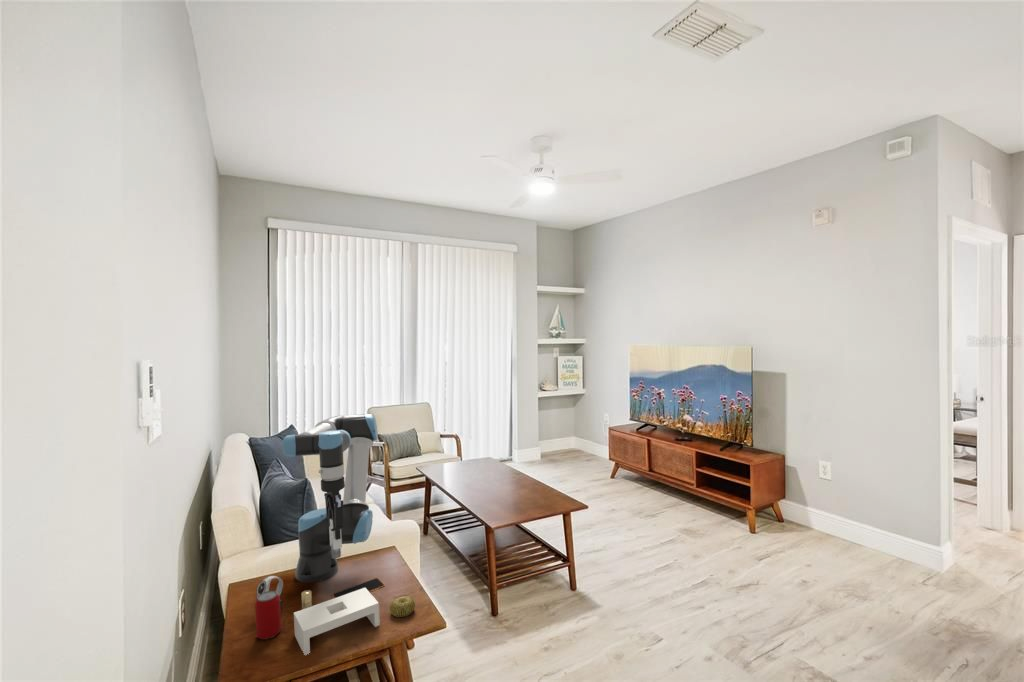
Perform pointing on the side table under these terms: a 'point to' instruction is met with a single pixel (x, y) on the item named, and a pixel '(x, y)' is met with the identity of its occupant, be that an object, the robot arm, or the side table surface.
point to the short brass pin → (306, 599)
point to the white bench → (334, 615)
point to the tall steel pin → (336, 552)
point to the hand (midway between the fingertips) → (335, 546)
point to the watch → (265, 585)
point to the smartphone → (368, 585)
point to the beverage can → (268, 615)
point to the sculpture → (402, 606)
